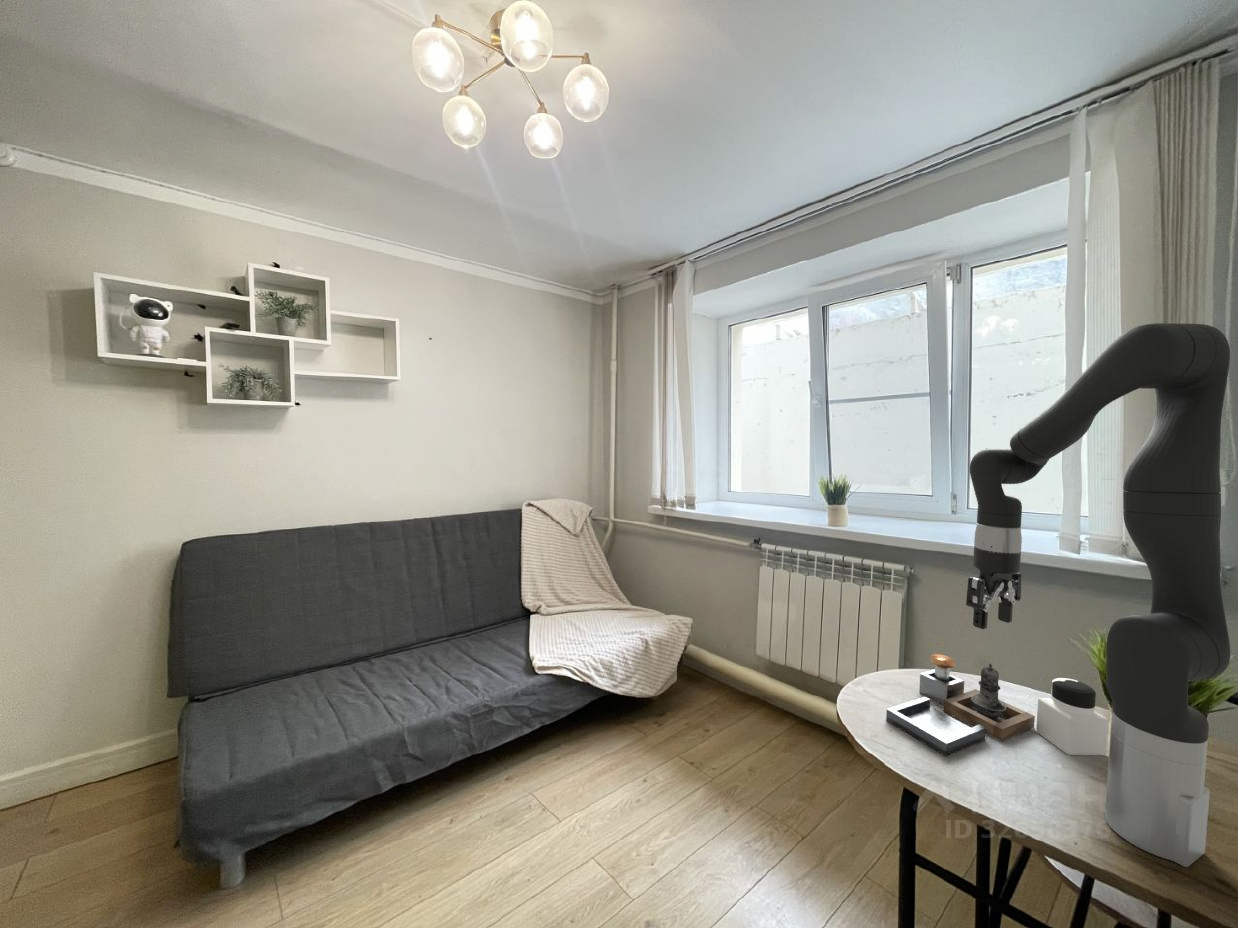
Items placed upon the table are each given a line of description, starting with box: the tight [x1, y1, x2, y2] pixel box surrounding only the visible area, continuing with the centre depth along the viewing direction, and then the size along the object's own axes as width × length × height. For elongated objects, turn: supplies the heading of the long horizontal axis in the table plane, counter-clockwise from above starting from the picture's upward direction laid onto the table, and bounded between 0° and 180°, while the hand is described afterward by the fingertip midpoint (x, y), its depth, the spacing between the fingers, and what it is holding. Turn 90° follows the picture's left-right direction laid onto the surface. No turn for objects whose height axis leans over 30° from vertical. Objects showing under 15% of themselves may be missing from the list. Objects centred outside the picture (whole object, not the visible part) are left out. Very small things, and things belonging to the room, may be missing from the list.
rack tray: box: [885, 696, 987, 757], centre depth 95 cm, size 12×12×2 cm
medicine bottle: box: [1035, 677, 1110, 756], centre depth 91 cm, size 7×7×12 cm
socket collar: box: [943, 688, 1036, 742], centre depth 99 cm, size 11×11×2 cm
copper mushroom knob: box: [930, 653, 956, 683], centre depth 107 cm, size 4×4×7 cm
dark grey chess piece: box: [971, 663, 1006, 723], centre depth 98 cm, size 6×6×12 cm
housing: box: [918, 668, 965, 706], centre depth 107 cm, size 6×6×4 cm
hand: (992, 624), depth 97 cm, fingers open, 8 cm apart
